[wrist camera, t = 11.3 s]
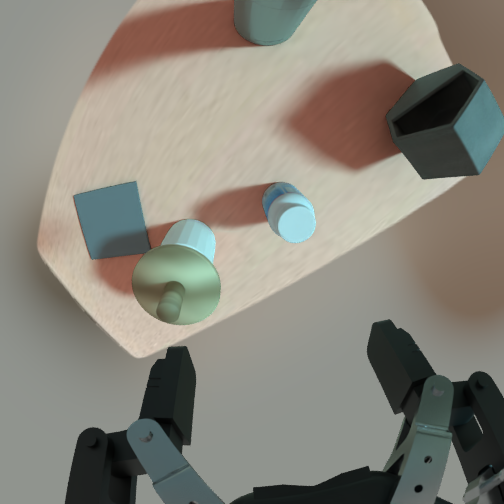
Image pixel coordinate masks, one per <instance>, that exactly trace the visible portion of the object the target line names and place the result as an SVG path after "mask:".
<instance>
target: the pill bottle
mask: <svg viewBox="0 0 504 504" xmlns="http://www.w3.org/2000/svg"><path fill="white" fill-rule="evenodd" d="M262 205H263V209H264V211H265V214H266V217H267V220H268V222H269V225H270V227H271V229H272V230H273V231H274V232H275V233H276V234H277V235H278V236H280V237H282V238H283V239H284V240H286V241H288V242H291V243H300V242H303V241H305V240H307V239H308V238H309V237H310V236H311V235H312V233H313V232H314V230H315V225H316V221H315V217H314V210H313V207H312V205H311V203H310V202H309V200H308V199H307V198H306V197H305V196H304V195H303V194H302V193H301V192H300V191H299V190H297V189H296V188H295V187H294V186H293V185H291V184H289V183H285V182H279V183H275V184H273V185H271V186H270V187H269V188H268V189H267V190H266V191H265V193H264V195H263V198H262Z"/></svg>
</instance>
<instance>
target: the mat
mask: <svg viewBox="0 0 504 504" xmlns="http://www.w3.org/2000/svg"><path fill="white" fill-rule="evenodd" d="M74 199H75V203H76V208H77V212H78V215H79V219H80V223H81V226H82V230H83V234H84V237H85V240H86V244H87V247H88V250H89V253H90V256H91V259H92V260H93V259H101V258H109V257H118V256H126V255H134V254H143V253H147V252H148V251H149V250H151V248H150V244H149V239H148V235H147V231H146V227H145V222H144V218H143V213H142V208H141V204H140V199H139V194H138V189H137V183H136V181H134V182H129V183H124V184H120V185H115V186H110V187H106V188H101V189H97V190H93V191H89V192H85V193H81V194H77V195H74Z"/></svg>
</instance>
